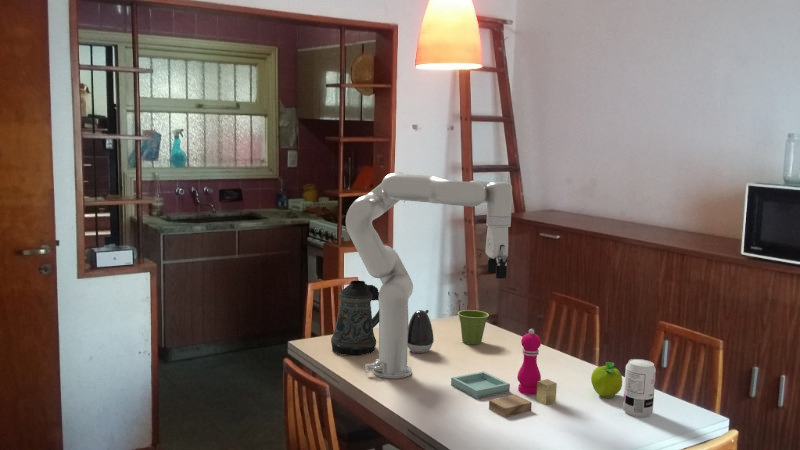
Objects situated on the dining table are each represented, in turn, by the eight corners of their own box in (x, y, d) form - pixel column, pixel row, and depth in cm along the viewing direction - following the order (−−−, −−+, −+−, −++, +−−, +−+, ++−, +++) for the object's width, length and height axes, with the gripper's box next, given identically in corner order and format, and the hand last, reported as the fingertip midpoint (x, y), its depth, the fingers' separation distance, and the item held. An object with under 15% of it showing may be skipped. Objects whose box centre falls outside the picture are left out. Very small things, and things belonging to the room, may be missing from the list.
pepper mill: (540, 396, 220) (543, 333, 217) (516, 394, 221) (519, 331, 218) (540, 388, 227) (543, 326, 224) (517, 386, 228) (520, 324, 225)
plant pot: (489, 347, 268) (490, 318, 267) (457, 346, 268) (458, 317, 267) (486, 338, 280) (487, 310, 279) (455, 337, 280) (456, 309, 279)
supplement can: (618, 407, 213) (621, 358, 211) (645, 407, 213) (649, 358, 211) (629, 418, 205) (633, 367, 203) (657, 418, 205) (661, 367, 203)
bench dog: (545, 404, 213) (546, 385, 212) (536, 400, 216) (537, 381, 216) (555, 402, 215) (556, 383, 214) (546, 398, 218) (547, 379, 218)
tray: (476, 398, 216) (476, 390, 216) (451, 385, 227) (451, 377, 227) (509, 391, 223) (509, 383, 223) (483, 378, 234) (483, 371, 234)
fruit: (621, 392, 225) (623, 362, 223) (620, 403, 216) (622, 371, 215) (591, 388, 228) (593, 358, 226) (589, 398, 219) (591, 367, 218)
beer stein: (321, 348, 261) (322, 281, 258) (358, 338, 276) (360, 274, 272) (353, 359, 250) (355, 289, 247) (391, 347, 265) (392, 281, 261)
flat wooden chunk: (504, 418, 203) (505, 408, 202) (488, 410, 209) (489, 400, 208) (531, 412, 208) (531, 402, 208) (514, 404, 214) (515, 394, 214)
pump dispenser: (438, 350, 263) (440, 309, 261) (424, 357, 255) (425, 315, 253) (414, 345, 269) (416, 305, 267) (399, 351, 260) (401, 310, 258)
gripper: (480, 218, 233) (478, 270, 235) (494, 225, 216) (492, 280, 218) (502, 218, 234) (500, 269, 236) (518, 225, 217) (516, 280, 219)
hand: (496, 275), depth 227 cm, fingers open, 9 cm apart
